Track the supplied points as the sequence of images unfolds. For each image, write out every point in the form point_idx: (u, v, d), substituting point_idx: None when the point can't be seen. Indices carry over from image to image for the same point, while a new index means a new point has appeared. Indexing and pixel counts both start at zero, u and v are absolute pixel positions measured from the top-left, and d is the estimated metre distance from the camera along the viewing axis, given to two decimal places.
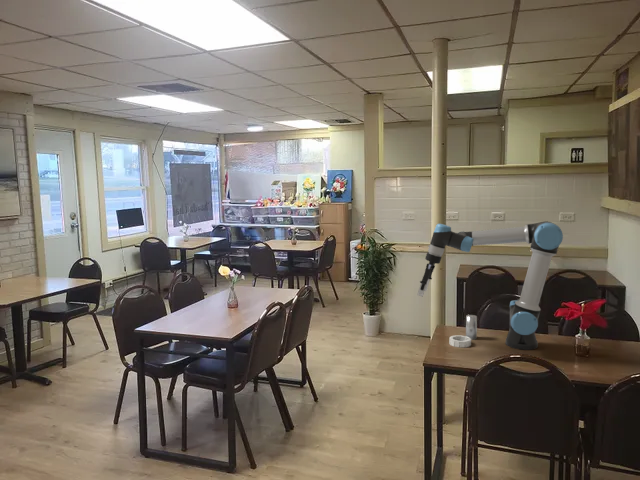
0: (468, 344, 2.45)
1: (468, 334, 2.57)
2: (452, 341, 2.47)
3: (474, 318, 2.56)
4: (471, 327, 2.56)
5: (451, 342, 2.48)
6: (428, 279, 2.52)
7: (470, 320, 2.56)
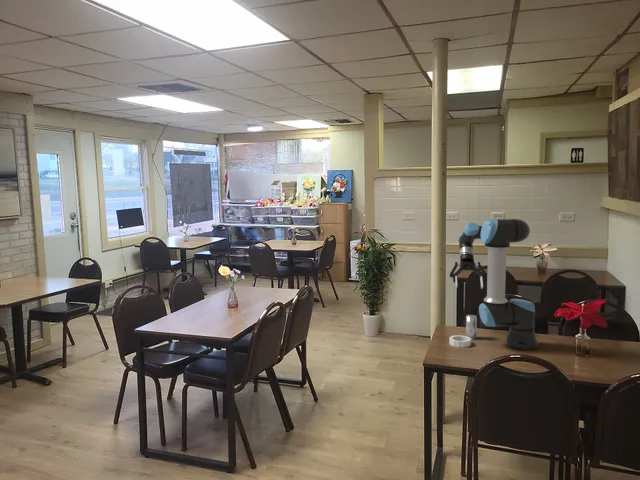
0: (468, 344, 2.45)
1: (468, 334, 2.57)
2: (452, 341, 2.47)
3: (474, 318, 2.56)
4: (471, 327, 2.56)
5: (451, 342, 2.48)
6: (480, 277, 2.69)
7: (470, 320, 2.56)
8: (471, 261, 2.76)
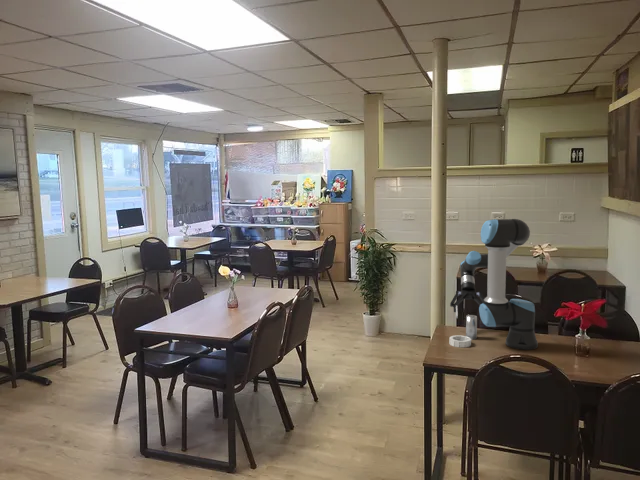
0: (468, 344, 2.45)
1: (468, 334, 2.57)
2: (452, 341, 2.47)
3: (474, 318, 2.56)
4: (471, 327, 2.56)
5: (451, 342, 2.48)
6: None
7: (470, 320, 2.56)
8: (472, 290, 2.72)
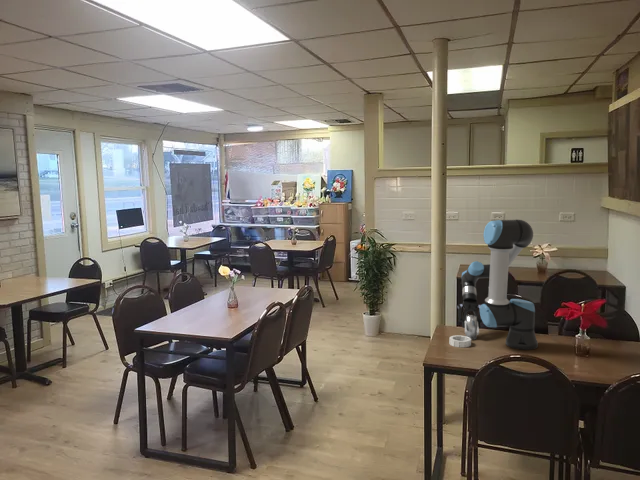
0: (468, 344, 2.45)
1: (468, 334, 2.57)
2: (452, 341, 2.47)
3: (474, 318, 2.56)
4: (471, 327, 2.56)
5: (451, 342, 2.48)
6: None
7: (470, 320, 2.56)
8: (475, 301, 2.66)
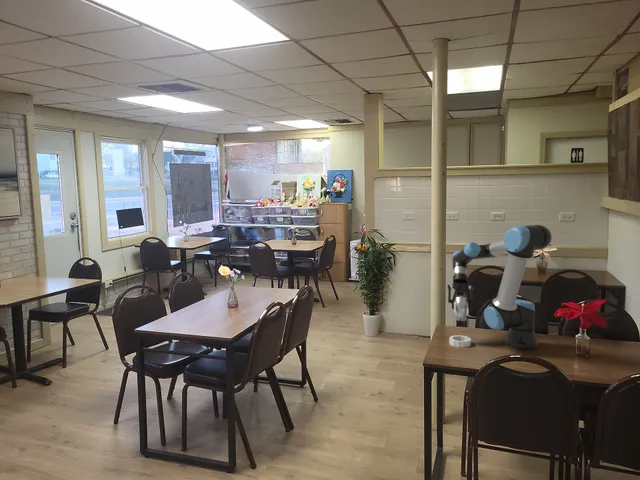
0: (468, 344, 2.45)
1: (458, 315, 2.49)
2: (452, 341, 2.47)
3: (464, 298, 2.47)
4: (460, 308, 2.47)
5: (451, 342, 2.48)
6: (466, 303, 2.49)
7: (459, 301, 2.47)
8: (465, 282, 2.57)
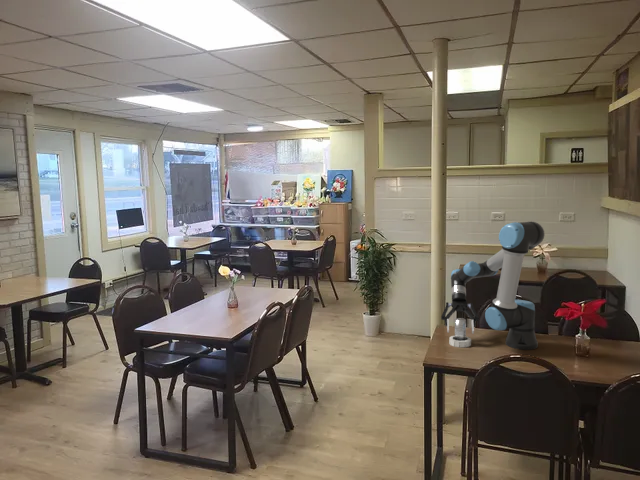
0: (468, 344, 2.45)
1: (457, 338, 2.48)
2: (452, 341, 2.47)
3: (463, 321, 2.46)
4: (460, 331, 2.47)
5: (451, 342, 2.48)
6: None
7: (459, 324, 2.46)
8: (463, 301, 2.56)
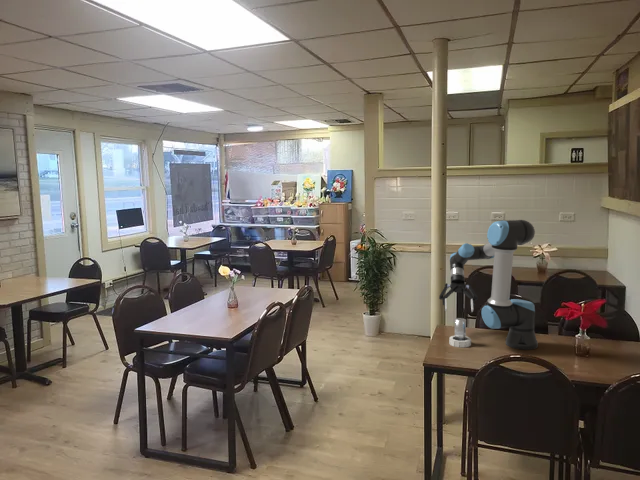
0: (468, 344, 2.45)
1: (457, 338, 2.48)
2: (452, 341, 2.47)
3: (463, 321, 2.46)
4: (460, 331, 2.47)
5: (451, 342, 2.48)
6: (471, 299, 2.60)
7: (458, 324, 2.46)
8: (462, 283, 2.67)
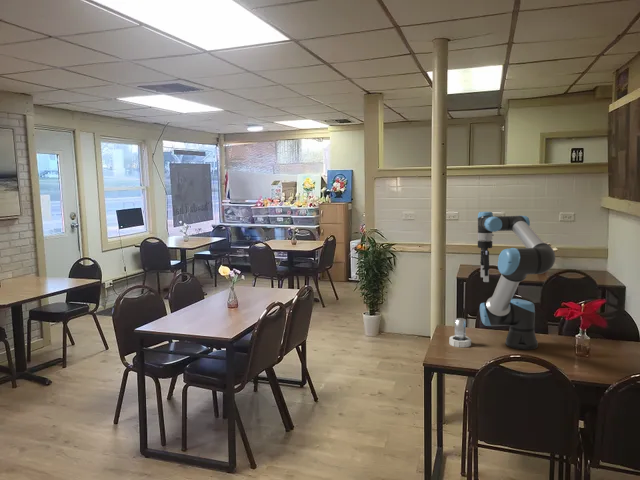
0: (468, 344, 2.45)
1: (457, 338, 2.48)
2: (452, 341, 2.47)
3: (463, 321, 2.46)
4: (460, 331, 2.47)
5: (451, 342, 2.48)
6: None
7: (458, 324, 2.46)
8: (483, 249, 2.58)
